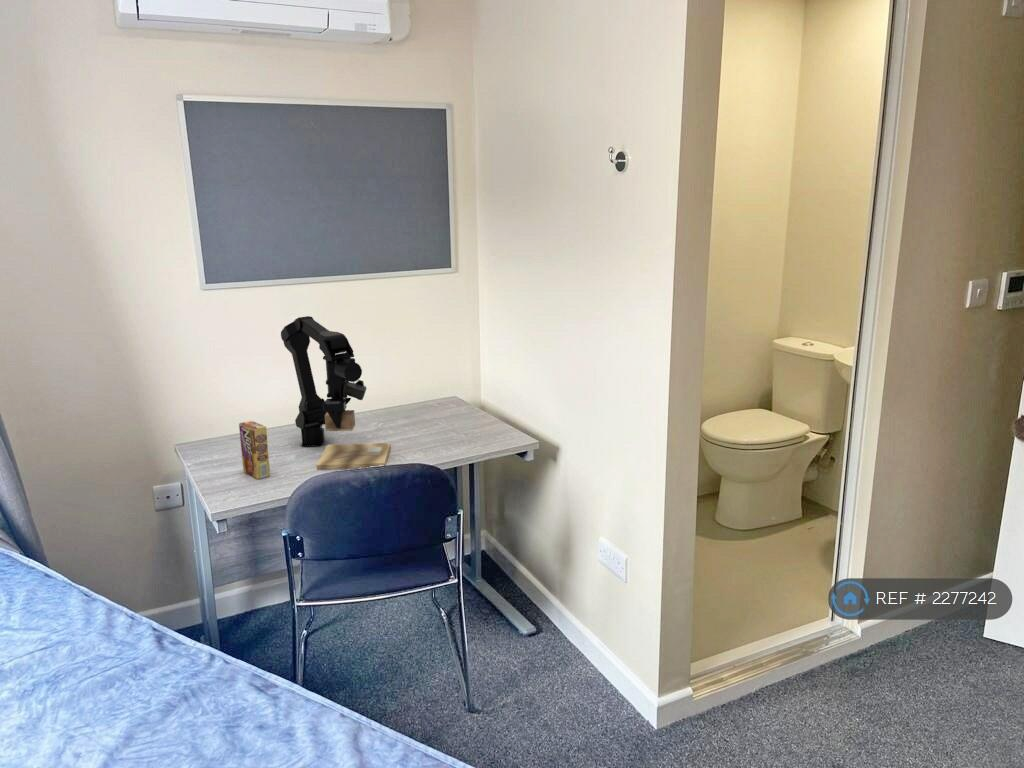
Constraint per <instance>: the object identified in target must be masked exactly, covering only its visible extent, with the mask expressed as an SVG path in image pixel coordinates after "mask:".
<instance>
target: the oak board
mask: <svg viewBox="0 0 1024 768" xmlns="http://www.w3.org/2000/svg"><path fill="white" fill-rule="evenodd" d="M369 447H382V451H381V454H380V455H367V450H368V448H369ZM390 451H391V443H390V442H387V443H386V442H385V443H384V442H383V443H381V442H379V443H376V442H375V443H349V444H347V443H345V444H344V443H343V444H342V443H341V444H340V443H338V444H327V446H326V447H325V449H324V451H323V453H322V454H321V455H320V458H319V460H318V462H317V464H316V470H319V471H320V470H321V471H322V470H324V471H325V470H350V469H349V468H360V467H370V466H379V465H385V466H386V464H387V461H388V459H389V454H390Z"/></svg>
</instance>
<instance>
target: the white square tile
mask: <svg viewBox="0 0 1024 768" xmlns="http://www.w3.org/2000/svg"><path fill="white" fill-rule="evenodd" d="M381 451H382V447H369V448H368V450H367V455H380V454H381Z"/></svg>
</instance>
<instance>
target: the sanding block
mask: <svg viewBox="0 0 1024 768" xmlns="http://www.w3.org/2000/svg"><path fill="white" fill-rule="evenodd" d="M355 417H356V416H355V410H352V409H348V410H347V409H345V410H344V411H343V412H342V419H341V427H340V428H337V427H336V426H335V424H334V422H333V421H332V419H331V417H330V416H329V414H328V412H327V413H326V414H325V424H324V425H325V432H352V431H353V430H354V428H355V427H356V418H355Z"/></svg>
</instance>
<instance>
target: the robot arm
mask: <svg viewBox="0 0 1024 768" xmlns="http://www.w3.org/2000/svg"><path fill="white" fill-rule="evenodd" d="M280 338H281V341H283V345H284V347H285V348H286V349H287V351H288V352H289V353H290V354H291V356H292V357H291V358H292V360H293V361H292V362H293V365H294V369H295V373H296V378H297V379H296V380H297V383H298V388H299V391H300V395H301V399H300V401H299V405H298V415H297V416H296V418H295V420H294V422H295V426H296V427H297V428H299V429H300V431H301V444H300V446H301V447H321V446H322V445H323V443H324V442H325V441H326V435H325V428H324V427H323V426H324V425H325V414H326V413H327V412H328V414H329V416H330V417H331V419H332V421H333V422H334V424H335V426H336V427H337V428H340V427H341V419H342V412H343V411H344V410H347V407H348V406H347V404H348V403H350V402H351V400H352V398H354V399H357V400H359V401H363V399H364V397H365V394H366V390H367V386H366V385H365V384H364V380H360V378H361V376H362V373H363V369H362V366H361V365H360V364H359V363H357V362H356V359H355V354H354V349H353V347H352V345H351V344H350V343H349V340H348V338H347V336H346V335H345V334H344V333H342V332H339V331H332V330H329V329H327V328H326V327H325V326H323V325H322V324H320V323H319V322H318V321H316V320H314V317H313V316H309V315H307V316H306V315H305V316H299V317H297V318H295V319H294V320H293V321H292V322H290V323H289V324H286V325H285V326H284V327H283V328H282V330H281V332H280ZM310 338H311V339H312V340H314V341H315V342H316V343H317V344H319V345H318V346H319V348H318V349H319V350H320V351H321V352H322V353H323V356H322V359H323V361H325V368H326V369H325V371H326V380H325V385H327V393H326V400H325V399H324V398H321V397H320V396H319V395H318V393H317V389H316V385H315V381H314V374H313V372H312V371H313V370H312V367H311V363H310V358H309V354H308V349H309V347H310V343H311V339H310ZM348 396H349V397H348Z"/></svg>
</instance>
